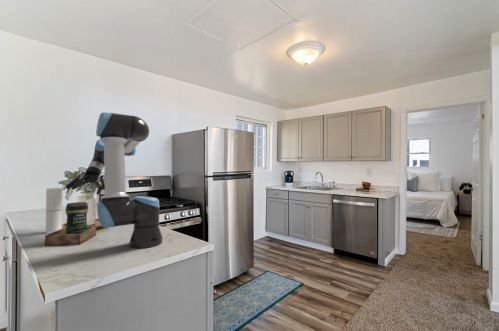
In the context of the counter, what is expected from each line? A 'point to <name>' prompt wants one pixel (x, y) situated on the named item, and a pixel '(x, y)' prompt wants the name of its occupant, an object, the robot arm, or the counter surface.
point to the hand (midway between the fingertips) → (80, 198)
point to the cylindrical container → (53, 210)
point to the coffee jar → (76, 217)
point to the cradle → (69, 237)
